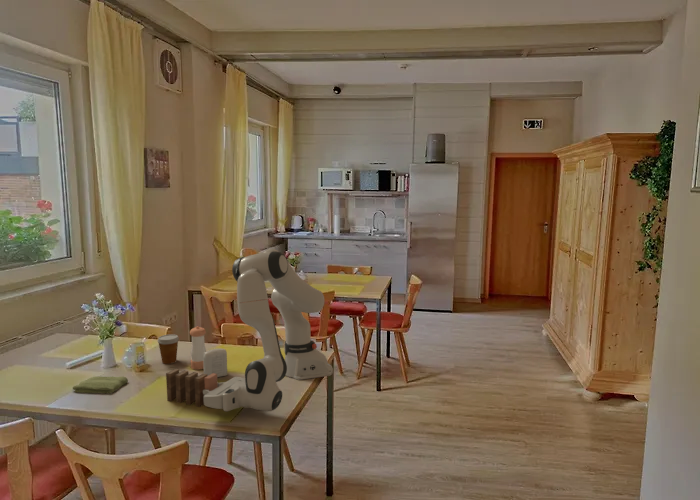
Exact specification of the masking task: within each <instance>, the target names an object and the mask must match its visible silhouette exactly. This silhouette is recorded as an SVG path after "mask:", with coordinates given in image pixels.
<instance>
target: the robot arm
mask: <svg viewBox="0 0 700 500" xmlns="http://www.w3.org/2000/svg"><path fill="white" fill-rule="evenodd" d="M231 273H232V276H233V278H234V280H235V281H236V282H237V283H236V301H237V302H236V303H237V311H238V315H239V317H240V320H241V321H242V322H243V323H244V324H245V325H247V326H249V327H252V328H253V329H255V330H256V331H257V333H258V334H259V336H260V339H261V344H262V349H263V358H260V359H256V360H253V361H251V362H249V363H248V365H246V367H245V369H244V371H245V372H244V377H240V376H234V377H232V378H230V379H229V380H227V381H224V382H218V381H217V383H218V387H217V388H215V389H214V390H212V391H209V389H204V390H203V394H204V405H203V406H205V407H206V408H207V407H208V408H212V409H217V410H219V409H220V410H223V411H224V412H230V411H232V410H235V409H239V408H251V409H253V410H257V411H262V412H272V411H275V410H276V409H277V408H278V407H279V406H280V404H281V403H282V399H283V392H282V390H281V388H279V386H278V384H277V383H278V382H281V381H282V380H283V379H284V378H285V376H286V377H289V378H293V379H295V380H299V381H300V380H307V379H314V378H315V379H316V378H321V377H322V378H323V377H329V376H331V375H333V373H334V368H333V366H332V364H330V363H329V362H328V359H327V357H326V355H325V354H324V353H323V352H321V351H320V350H318V349H317V347H318V346H317V344H316V342H315V341H314V340H311V323H310V322H309V321H308V319H306V318H305V317H304V315H303V313H305V314H313V313H314V314H315V313H319V312H320V311H322V309H323V307H324V305H325V296H324V293H323V292H322V291H321V290H319V289H317V288H315V287H313V286H312V285H311V284H309V283H307V281H305V280H304V279H302V277H300V275H298V274H297V273H296V271H295V270H294V268H293V267H292V265H291V264H290V262H289V261H288V259H287V257H286V256H285V254H284V253H282V252H281V251H279V250H277V249H274V248H269V249H266V250H264V251H263V252H260V253H255V254H250V255H247V256H241V257H238V258H237V259H235V260H234V261H233V265H232V269H231ZM267 281H268V282H269V283H270V285H271V286H272V288H273V290H272V291H271V295H270V296H271V298H270V299H271V303H272V305H273V306H274V307H275V308H277V310H278V311H279V313H280V315H281V317H282V320H283V324H284V334H285V341H284V346H283V347H284V351H283V352H284V354H285V356H283V354H282V351H281V350H282V349H281V345H280V342H279V341H280V340H279V337H278V333H277V327H276V324H275V321H274V318H273V316H272V313H271V310H270V304H269V298H268V297H269V296H268V292H267V291H268V290H267V287H266V283H265V282H267Z"/></svg>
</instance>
